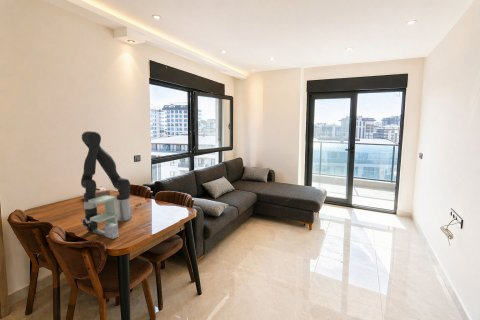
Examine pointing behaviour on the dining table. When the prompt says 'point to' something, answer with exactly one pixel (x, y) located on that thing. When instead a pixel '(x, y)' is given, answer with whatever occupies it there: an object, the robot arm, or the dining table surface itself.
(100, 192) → the tissue box cover
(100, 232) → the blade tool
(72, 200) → the dining table surface
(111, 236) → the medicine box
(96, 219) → the shelf unit
